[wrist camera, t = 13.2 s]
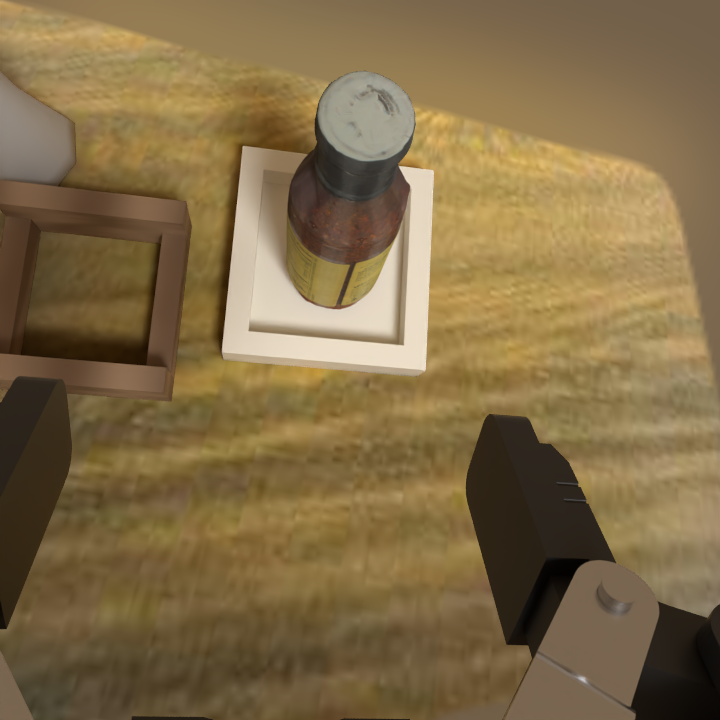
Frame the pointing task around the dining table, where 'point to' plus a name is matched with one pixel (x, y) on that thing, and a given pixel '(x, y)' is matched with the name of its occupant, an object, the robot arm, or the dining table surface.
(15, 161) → the flask
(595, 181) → the dining table surface
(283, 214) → the tray
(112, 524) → the dining table surface
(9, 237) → the holder
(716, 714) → the robot arm
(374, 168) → the sauce bottle
